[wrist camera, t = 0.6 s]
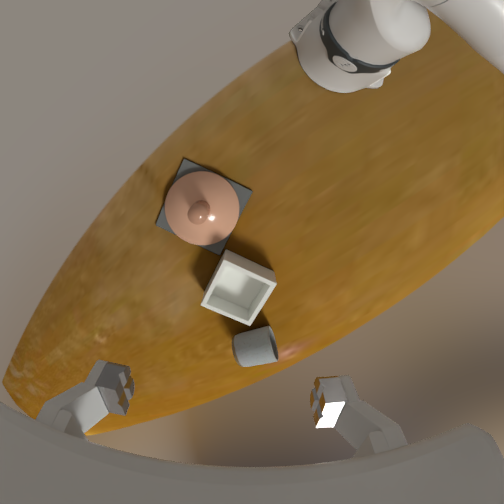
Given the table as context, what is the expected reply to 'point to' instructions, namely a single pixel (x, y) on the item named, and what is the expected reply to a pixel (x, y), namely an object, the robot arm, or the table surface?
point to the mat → (241, 191)
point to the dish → (238, 288)
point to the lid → (202, 208)
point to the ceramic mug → (255, 347)
